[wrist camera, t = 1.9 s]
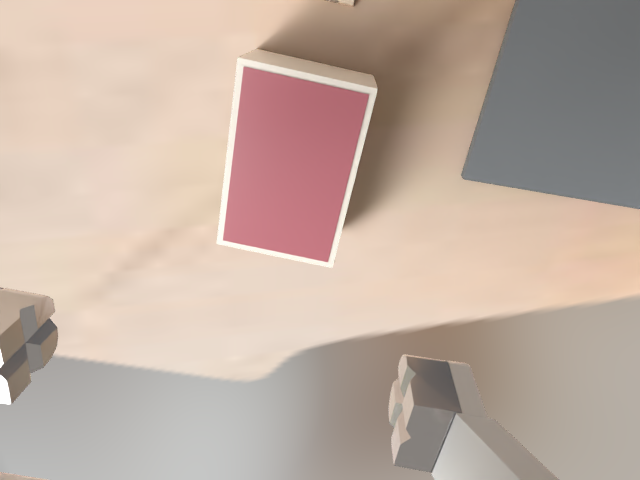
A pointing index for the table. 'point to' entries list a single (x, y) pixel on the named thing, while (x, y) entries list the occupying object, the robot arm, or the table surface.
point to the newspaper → (343, 2)
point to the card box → (292, 155)
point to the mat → (564, 103)
